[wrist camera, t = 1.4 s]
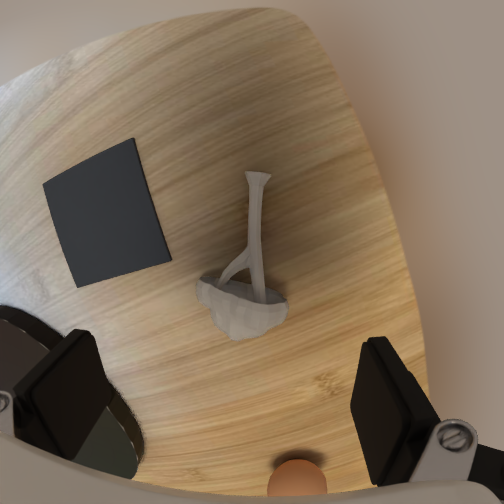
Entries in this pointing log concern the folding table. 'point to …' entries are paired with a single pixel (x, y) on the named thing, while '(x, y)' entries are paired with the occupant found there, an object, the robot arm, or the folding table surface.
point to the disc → (111, 420)
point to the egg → (297, 479)
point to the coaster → (106, 216)
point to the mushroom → (242, 294)
